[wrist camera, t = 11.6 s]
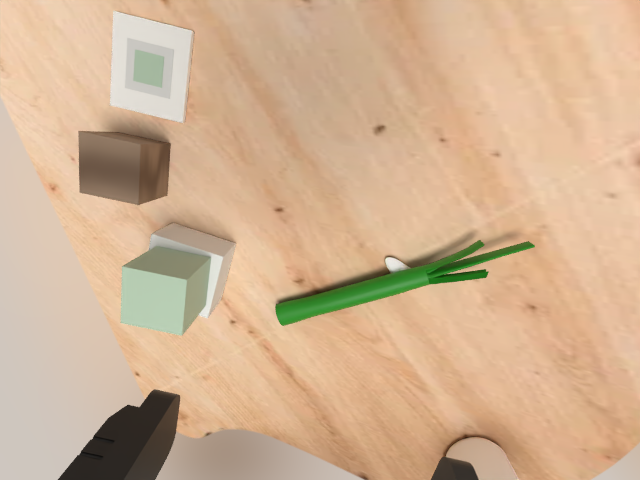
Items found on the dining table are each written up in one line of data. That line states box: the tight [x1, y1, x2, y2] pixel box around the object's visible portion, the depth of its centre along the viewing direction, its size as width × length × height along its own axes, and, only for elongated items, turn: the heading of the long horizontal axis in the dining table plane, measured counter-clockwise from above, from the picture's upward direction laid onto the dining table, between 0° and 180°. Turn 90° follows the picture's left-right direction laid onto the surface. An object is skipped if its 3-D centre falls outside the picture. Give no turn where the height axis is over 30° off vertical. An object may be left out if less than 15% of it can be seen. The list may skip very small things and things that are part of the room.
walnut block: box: [79, 131, 171, 205], centre depth 35 cm, size 6×6×6 cm
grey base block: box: [149, 223, 236, 318], centre depth 39 cm, size 8×8×5 cm
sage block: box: [121, 246, 211, 336], centre depth 34 cm, size 6×6×6 cm
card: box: [110, 11, 194, 123], centre depth 34 cm, size 9×8×1 cm
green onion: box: [276, 240, 535, 326], centre depth 39 cm, size 5×3×30 cm
